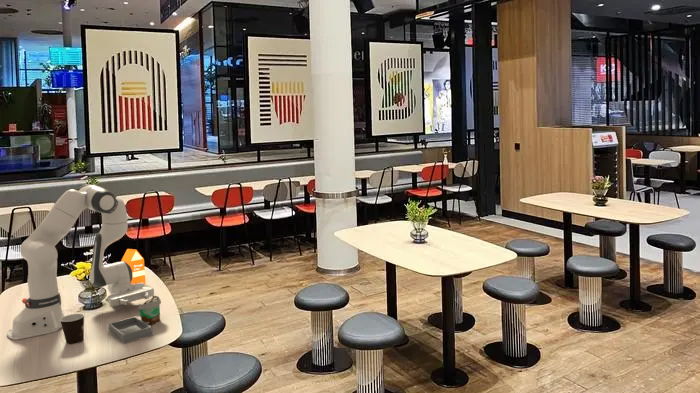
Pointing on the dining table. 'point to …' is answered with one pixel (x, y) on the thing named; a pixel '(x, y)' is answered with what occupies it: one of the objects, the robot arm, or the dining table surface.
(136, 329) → the bin
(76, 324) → the coffee mug
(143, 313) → the ice cream cake half
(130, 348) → the dining table surface
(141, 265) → the orange juice
